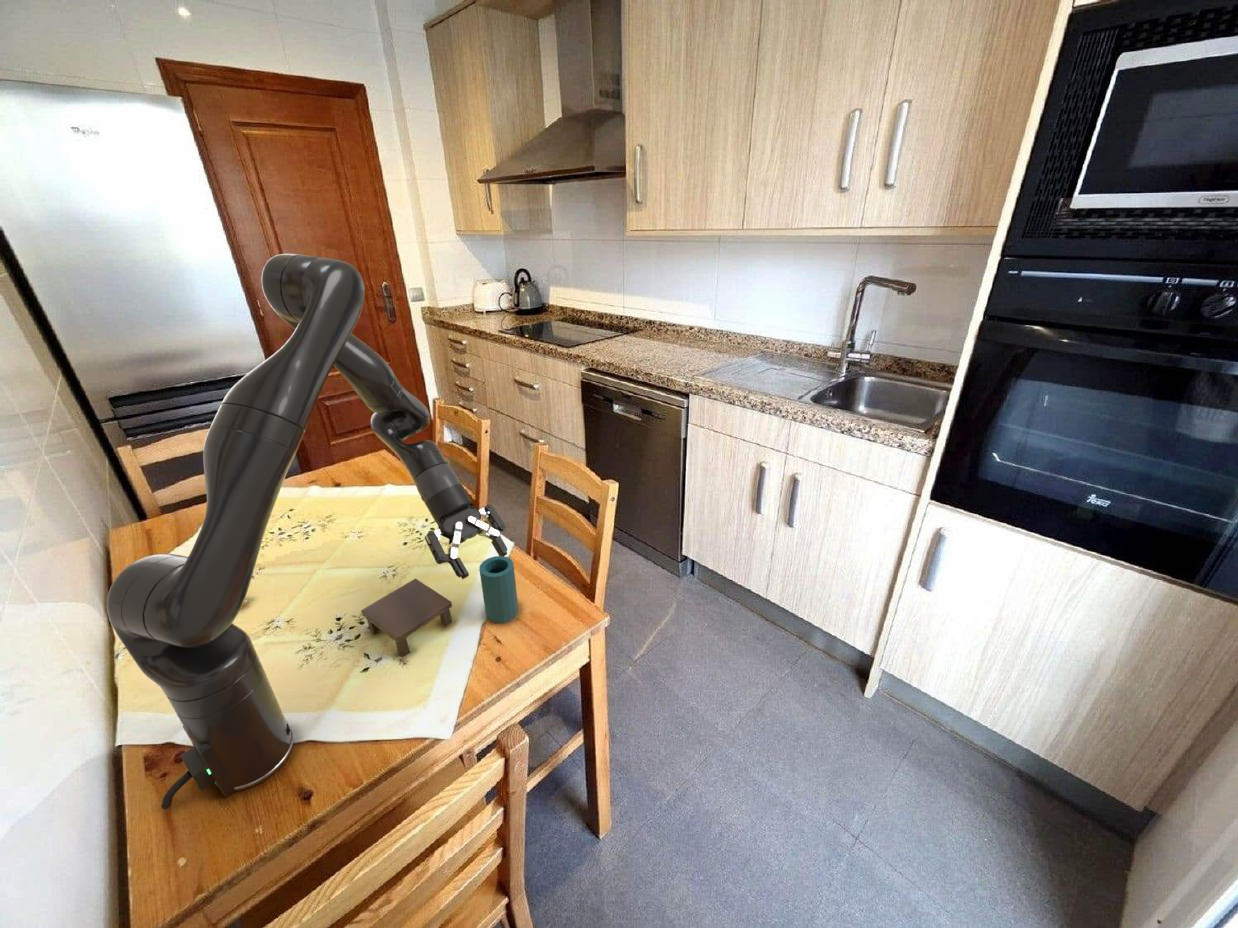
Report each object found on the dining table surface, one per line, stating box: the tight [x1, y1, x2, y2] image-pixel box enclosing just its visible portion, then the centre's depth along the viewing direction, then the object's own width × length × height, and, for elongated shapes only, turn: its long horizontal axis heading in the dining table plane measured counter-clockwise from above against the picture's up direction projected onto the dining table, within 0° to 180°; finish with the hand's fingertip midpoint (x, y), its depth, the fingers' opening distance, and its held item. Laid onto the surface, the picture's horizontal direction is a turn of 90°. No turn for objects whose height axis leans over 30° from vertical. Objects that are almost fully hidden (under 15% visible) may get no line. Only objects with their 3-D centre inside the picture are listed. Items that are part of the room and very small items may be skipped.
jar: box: [478, 555, 519, 625], centre depth 93 cm, size 6×6×11 cm
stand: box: [360, 578, 453, 658], centre depth 91 cm, size 11×11×5 cm
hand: (485, 566), depth 94 cm, fingers open, 8 cm apart
